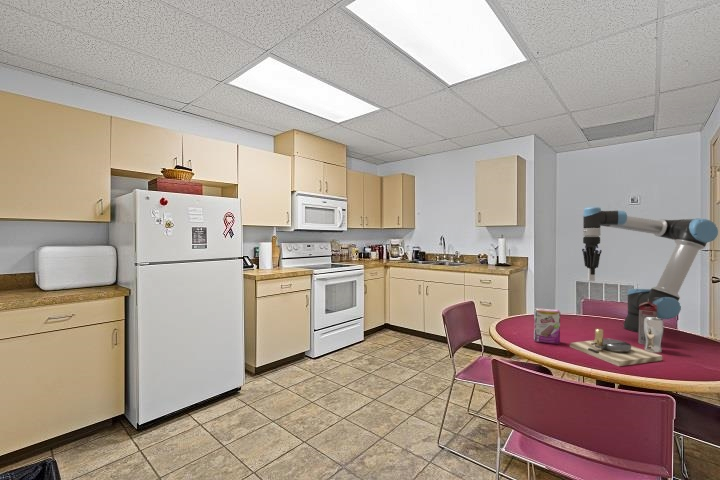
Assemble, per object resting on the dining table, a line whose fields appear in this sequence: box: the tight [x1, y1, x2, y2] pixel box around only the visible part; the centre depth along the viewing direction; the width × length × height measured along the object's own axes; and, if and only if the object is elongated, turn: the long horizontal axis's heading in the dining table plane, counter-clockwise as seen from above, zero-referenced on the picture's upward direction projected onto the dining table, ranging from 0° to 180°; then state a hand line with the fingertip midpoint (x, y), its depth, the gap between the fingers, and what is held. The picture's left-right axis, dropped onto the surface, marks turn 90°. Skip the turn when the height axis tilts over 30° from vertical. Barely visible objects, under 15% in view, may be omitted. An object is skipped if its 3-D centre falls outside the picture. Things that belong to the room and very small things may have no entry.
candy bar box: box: [533, 307, 561, 345], centre depth 170 cm, size 11×5×16 cm, turn 71°
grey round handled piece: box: [591, 328, 632, 353], centre depth 154 cm, size 18×12×9 cm, turn 102°
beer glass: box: [644, 317, 664, 354], centre depth 157 cm, size 7×7×15 cm
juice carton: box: [638, 298, 657, 346], centre depth 167 cm, size 7×7×22 cm
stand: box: [569, 339, 663, 367], centre depth 154 cm, size 24×24×3 cm
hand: (591, 280), depth 180 cm, fingers closed
